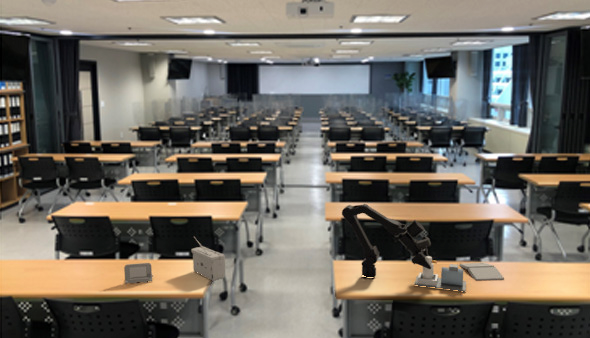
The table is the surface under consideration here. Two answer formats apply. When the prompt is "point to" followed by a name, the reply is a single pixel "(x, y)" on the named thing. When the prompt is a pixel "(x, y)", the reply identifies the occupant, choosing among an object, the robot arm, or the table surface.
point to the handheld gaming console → (138, 273)
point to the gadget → (482, 271)
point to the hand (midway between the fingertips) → (431, 266)
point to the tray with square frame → (445, 279)
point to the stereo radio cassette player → (208, 263)
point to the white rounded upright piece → (428, 272)
